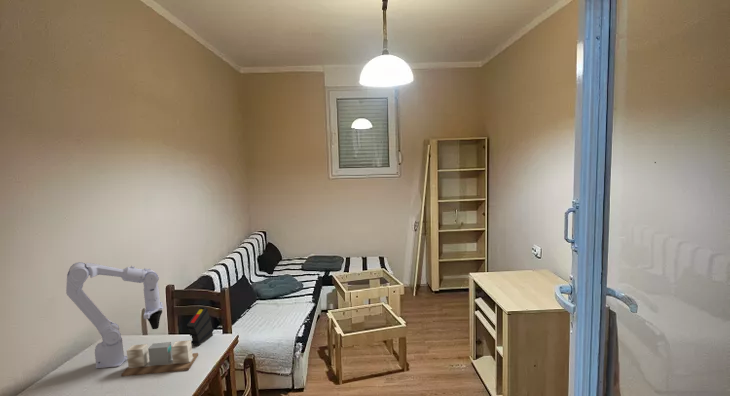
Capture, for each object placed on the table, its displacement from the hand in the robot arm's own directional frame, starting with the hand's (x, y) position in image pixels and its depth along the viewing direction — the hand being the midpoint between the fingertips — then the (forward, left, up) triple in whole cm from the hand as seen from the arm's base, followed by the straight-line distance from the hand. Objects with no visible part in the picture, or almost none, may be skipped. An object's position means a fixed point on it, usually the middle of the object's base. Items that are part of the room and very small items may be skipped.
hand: (155, 328), depth 176 cm
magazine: (+17, +5, -10) cm, 20 cm away
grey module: (+7, -14, -8) cm, 18 cm away
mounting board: (+7, -14, -10) cm, 19 cm away
